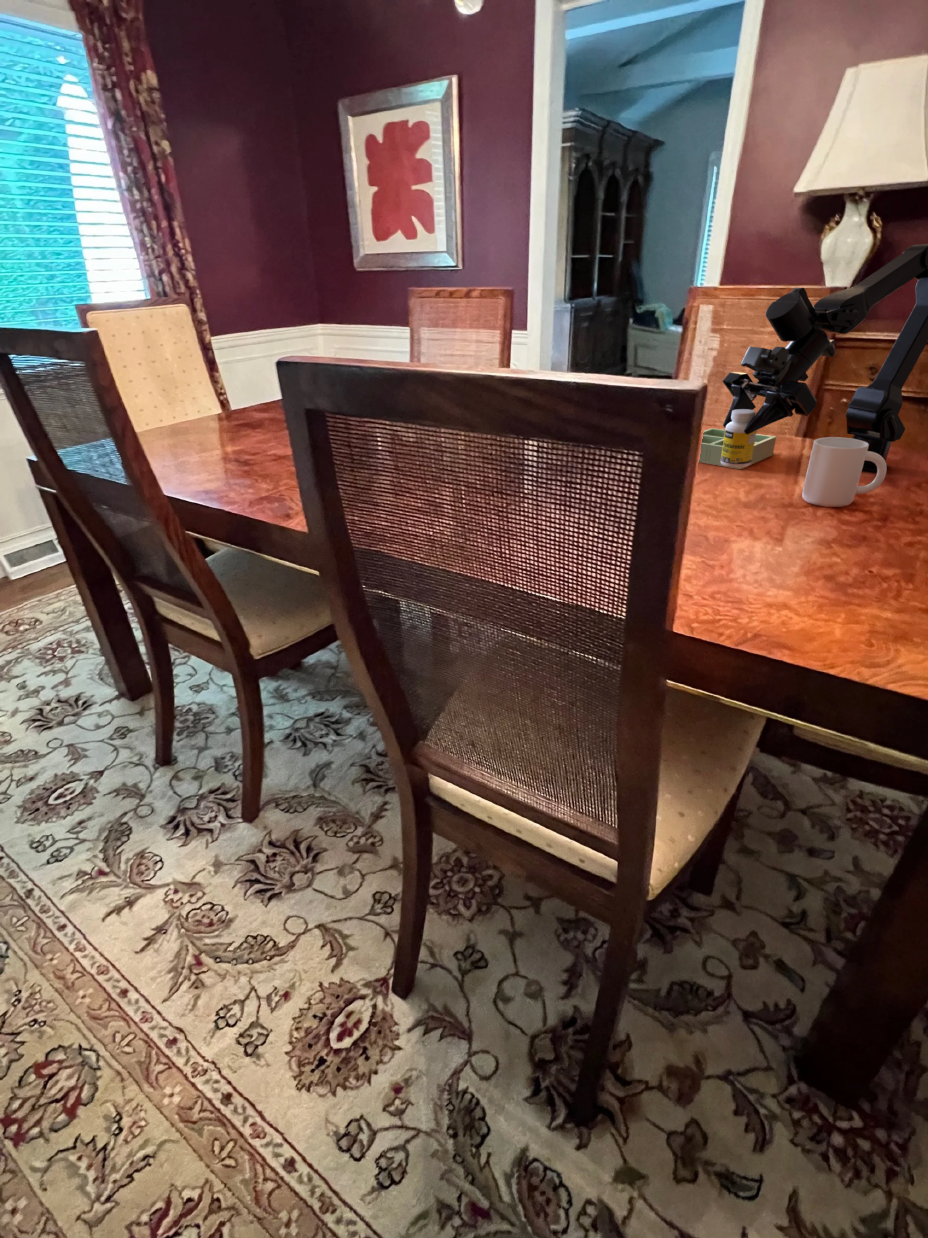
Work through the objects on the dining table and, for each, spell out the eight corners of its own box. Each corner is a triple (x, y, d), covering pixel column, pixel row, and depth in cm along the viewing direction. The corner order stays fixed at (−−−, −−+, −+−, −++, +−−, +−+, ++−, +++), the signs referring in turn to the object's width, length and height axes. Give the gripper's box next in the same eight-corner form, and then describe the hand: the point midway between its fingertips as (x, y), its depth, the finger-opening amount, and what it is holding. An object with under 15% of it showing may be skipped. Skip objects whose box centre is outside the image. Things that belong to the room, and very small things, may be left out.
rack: (772, 454, 139) (776, 436, 137) (741, 469, 130) (744, 449, 128) (708, 445, 149) (711, 427, 147) (675, 458, 140) (677, 439, 139)
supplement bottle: (714, 464, 118) (722, 411, 113) (729, 458, 121) (737, 406, 116) (741, 469, 114) (750, 414, 110) (756, 463, 117) (765, 410, 113)
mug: (874, 497, 111) (890, 439, 106) (880, 511, 105) (898, 450, 100) (799, 491, 116) (812, 435, 111) (801, 505, 109) (815, 446, 104)
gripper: (739, 325, 115) (681, 393, 118) (818, 330, 100) (749, 409, 102) (766, 366, 121) (710, 430, 124) (845, 377, 105) (779, 451, 108)
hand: (734, 429), depth 114 cm, fingers closed on supplement bottle, 5 cm apart
